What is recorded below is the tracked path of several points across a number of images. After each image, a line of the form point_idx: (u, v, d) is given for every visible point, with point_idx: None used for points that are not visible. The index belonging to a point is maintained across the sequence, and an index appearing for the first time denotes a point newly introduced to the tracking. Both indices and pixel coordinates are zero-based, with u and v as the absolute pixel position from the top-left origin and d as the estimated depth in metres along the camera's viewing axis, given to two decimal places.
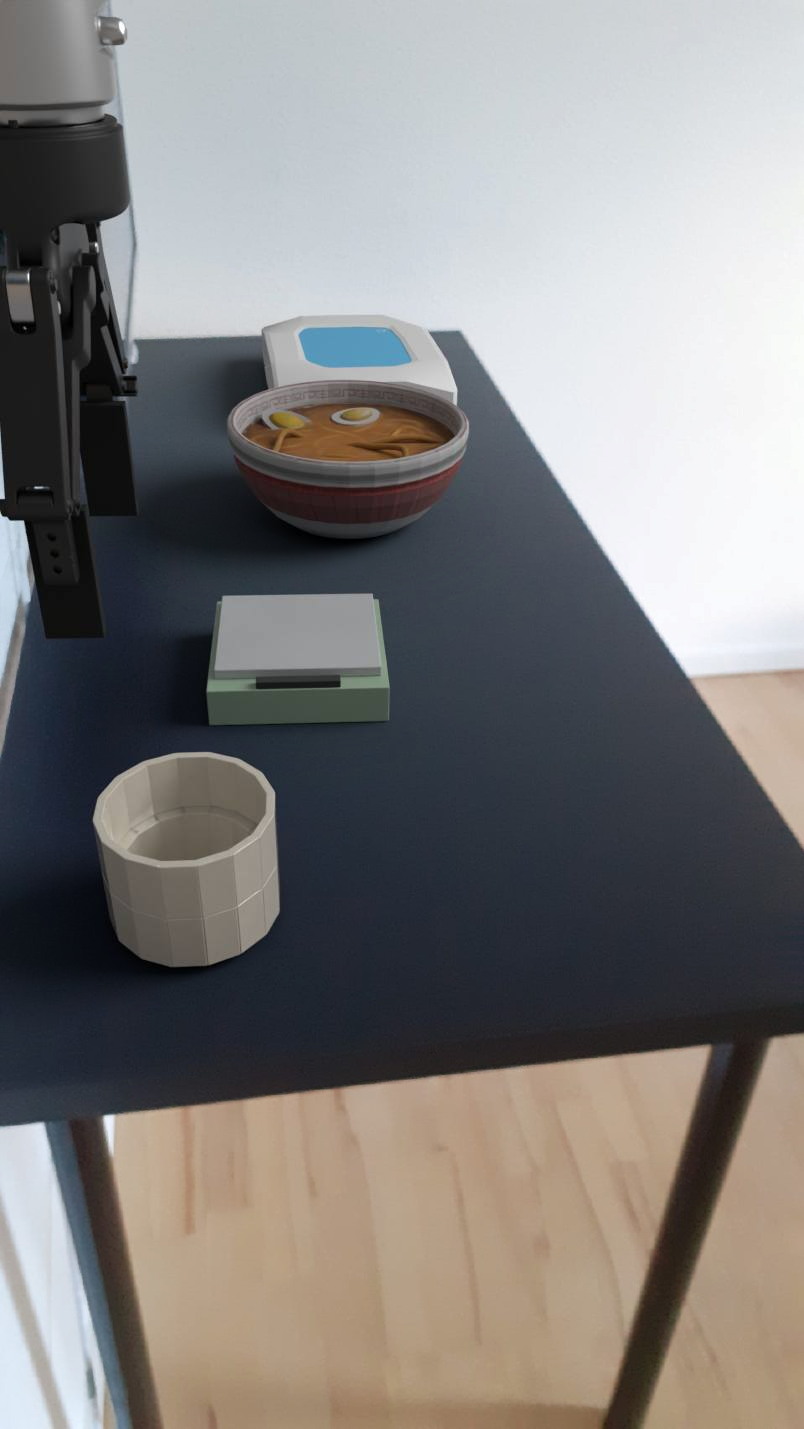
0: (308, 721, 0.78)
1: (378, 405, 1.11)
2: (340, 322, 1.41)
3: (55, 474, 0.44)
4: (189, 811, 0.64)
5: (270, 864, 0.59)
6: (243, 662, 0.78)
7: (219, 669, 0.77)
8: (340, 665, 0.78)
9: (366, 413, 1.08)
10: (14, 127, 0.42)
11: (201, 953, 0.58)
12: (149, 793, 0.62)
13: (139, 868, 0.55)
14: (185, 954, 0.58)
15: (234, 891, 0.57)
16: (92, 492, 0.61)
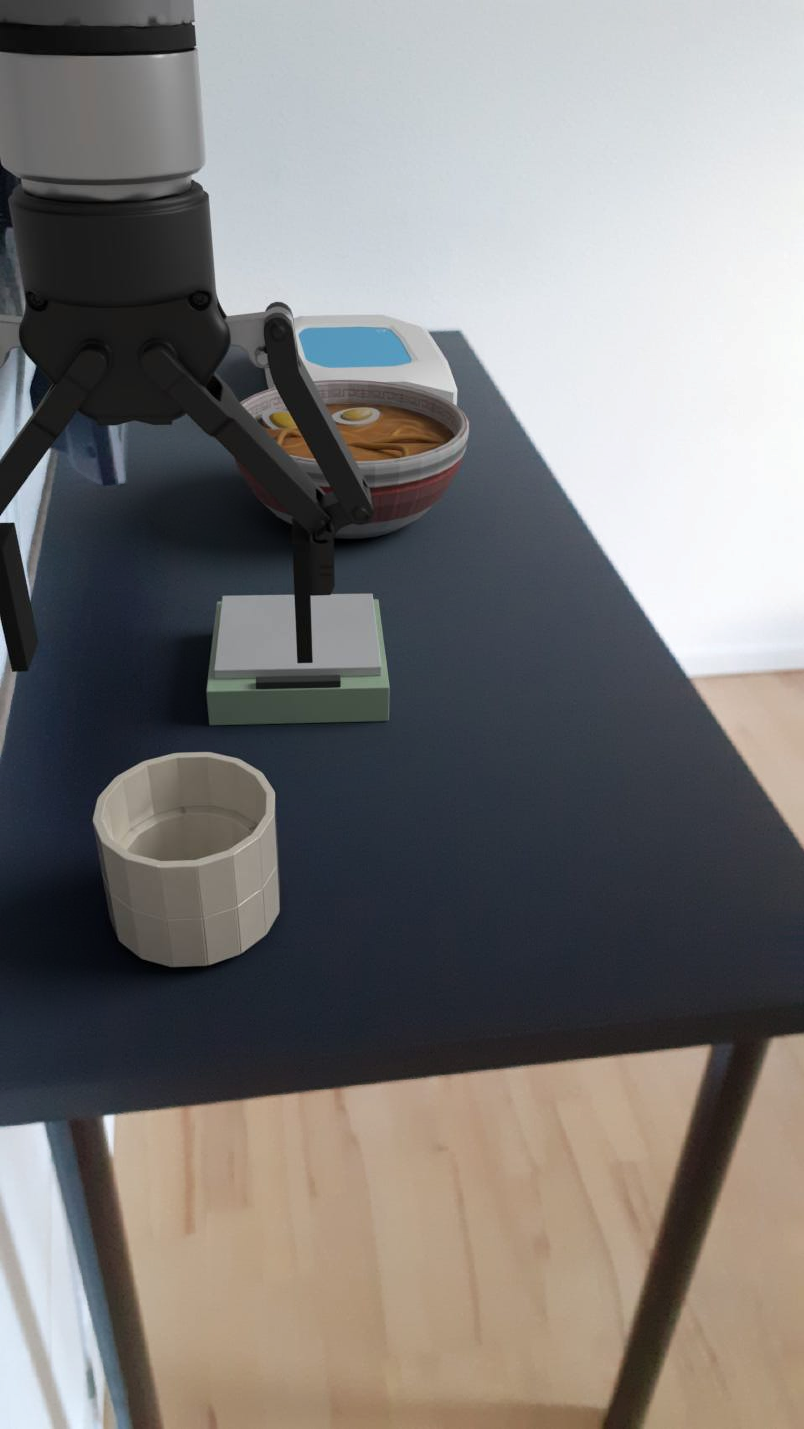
0: (308, 721, 0.78)
1: (378, 405, 1.11)
2: (340, 322, 1.41)
3: (357, 466, 0.50)
4: (189, 811, 0.64)
5: (270, 864, 0.59)
6: (243, 662, 0.78)
7: (219, 669, 0.77)
8: (340, 665, 0.78)
9: (366, 413, 1.08)
10: (194, 187, 0.42)
11: (201, 953, 0.58)
12: (149, 793, 0.62)
13: (139, 868, 0.55)
14: (185, 954, 0.58)
15: (234, 891, 0.57)
16: (24, 640, 0.51)
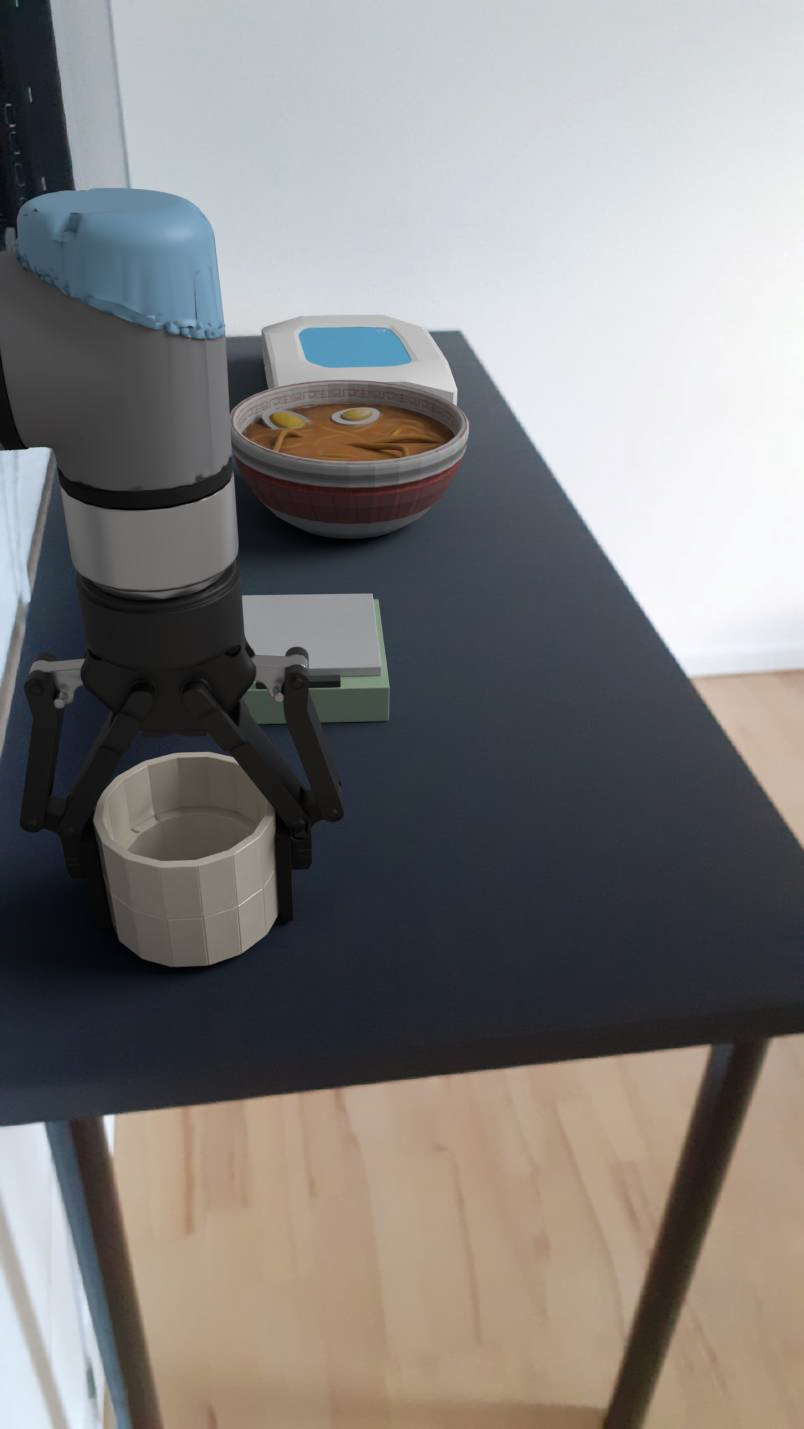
0: None
1: (378, 405, 1.11)
2: (340, 322, 1.41)
3: (336, 769, 0.59)
4: (190, 811, 0.64)
5: (271, 864, 0.59)
6: None
7: None
8: (340, 665, 0.78)
9: (366, 413, 1.08)
10: (228, 565, 0.50)
11: (202, 953, 0.58)
12: (149, 793, 0.62)
13: (139, 868, 0.55)
14: (186, 954, 0.58)
15: (234, 891, 0.57)
16: (107, 904, 0.61)
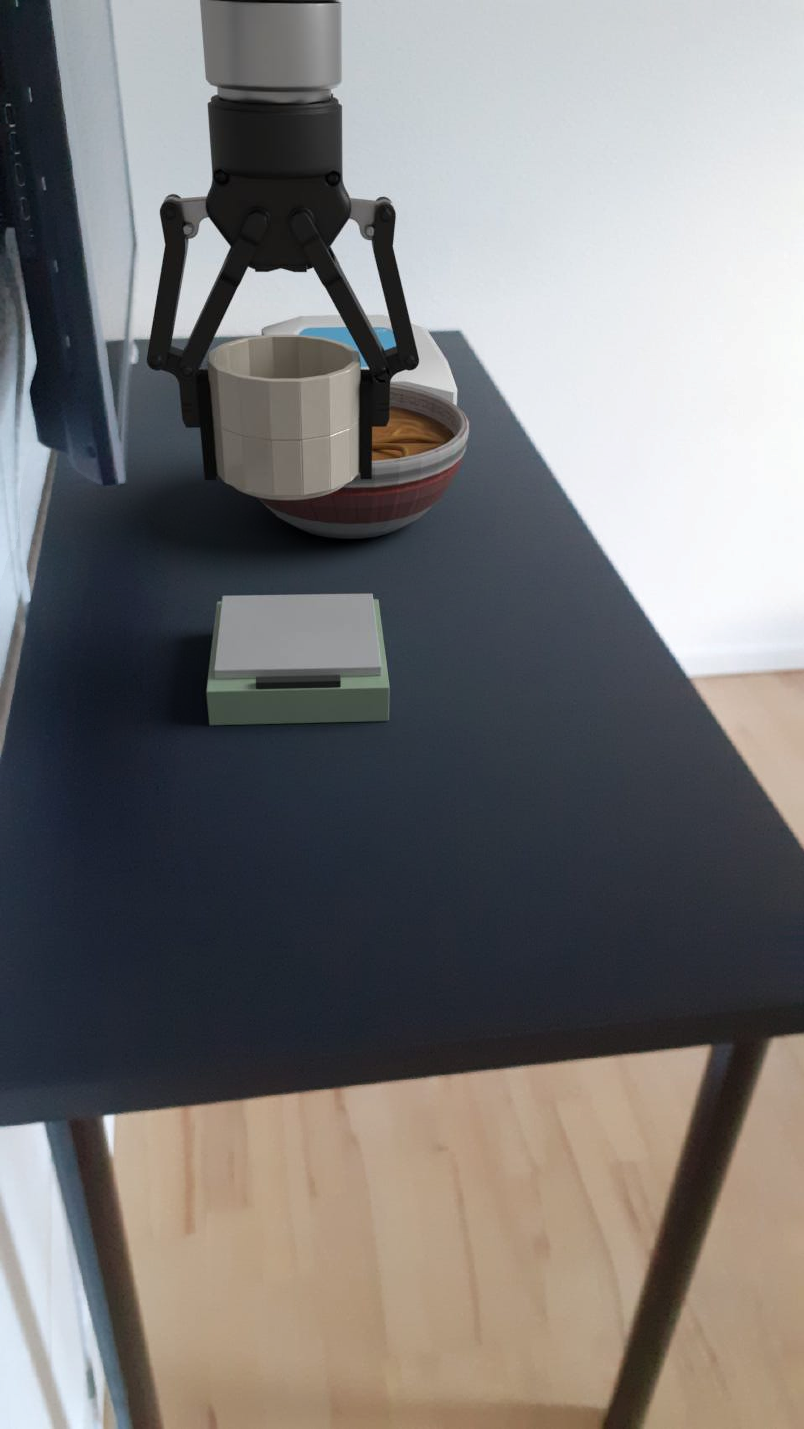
0: (308, 721, 0.78)
1: None
2: (340, 322, 1.41)
3: None
4: None
5: (356, 411, 0.69)
6: (243, 662, 0.78)
7: (219, 669, 0.77)
8: (340, 665, 0.78)
9: None
10: (332, 99, 0.61)
11: (298, 481, 0.68)
12: (248, 369, 0.72)
13: (250, 385, 0.65)
14: (284, 481, 0.68)
15: (328, 418, 0.67)
16: (214, 456, 0.71)
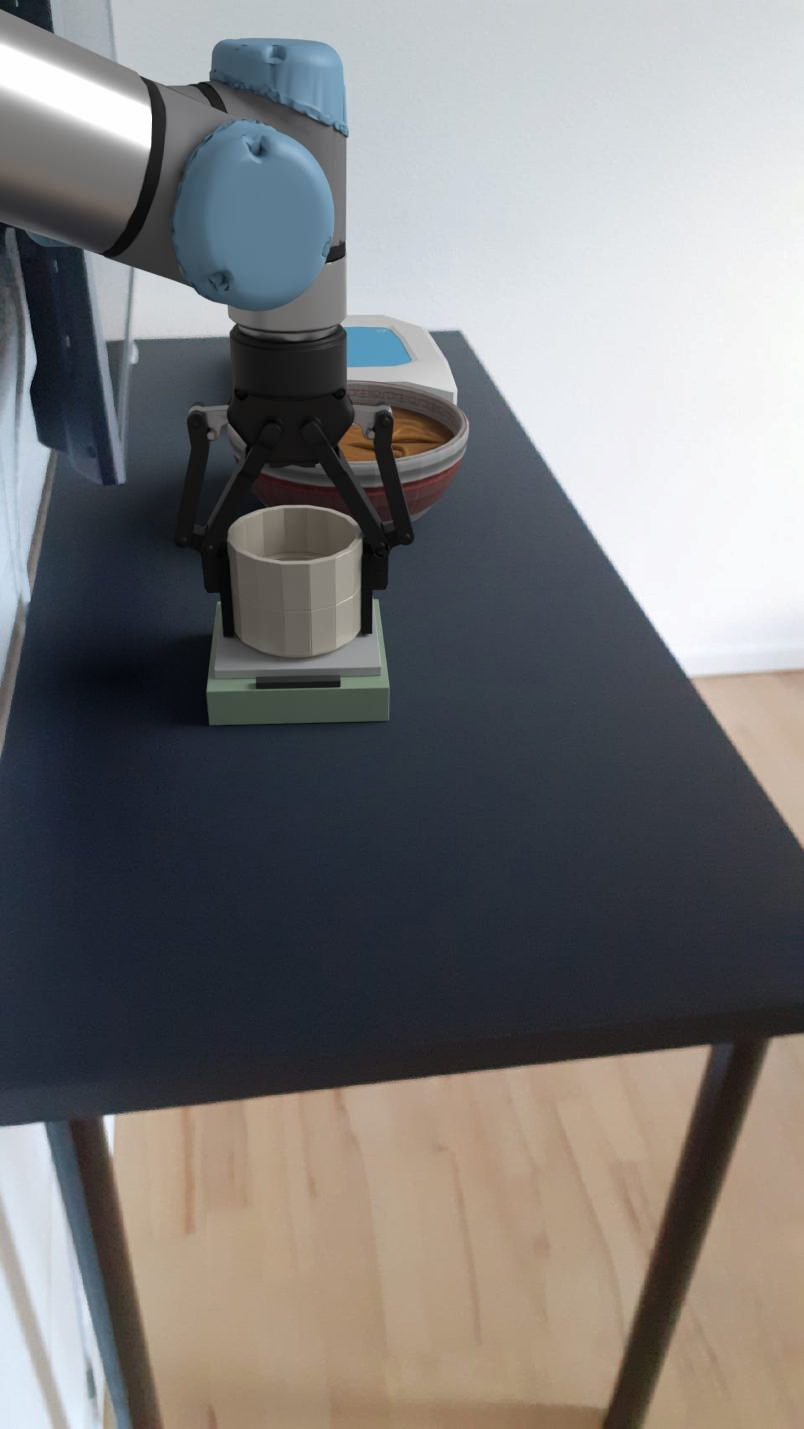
0: (308, 721, 0.78)
1: None
2: None
3: (407, 508, 0.78)
4: (291, 554, 0.83)
5: (358, 580, 0.78)
6: (243, 662, 0.78)
7: (219, 669, 0.77)
8: (340, 665, 0.78)
9: None
10: (338, 327, 0.69)
11: (307, 644, 0.77)
12: (262, 536, 0.81)
13: (266, 566, 0.74)
14: (295, 644, 0.77)
15: (334, 591, 0.76)
16: (232, 616, 0.80)
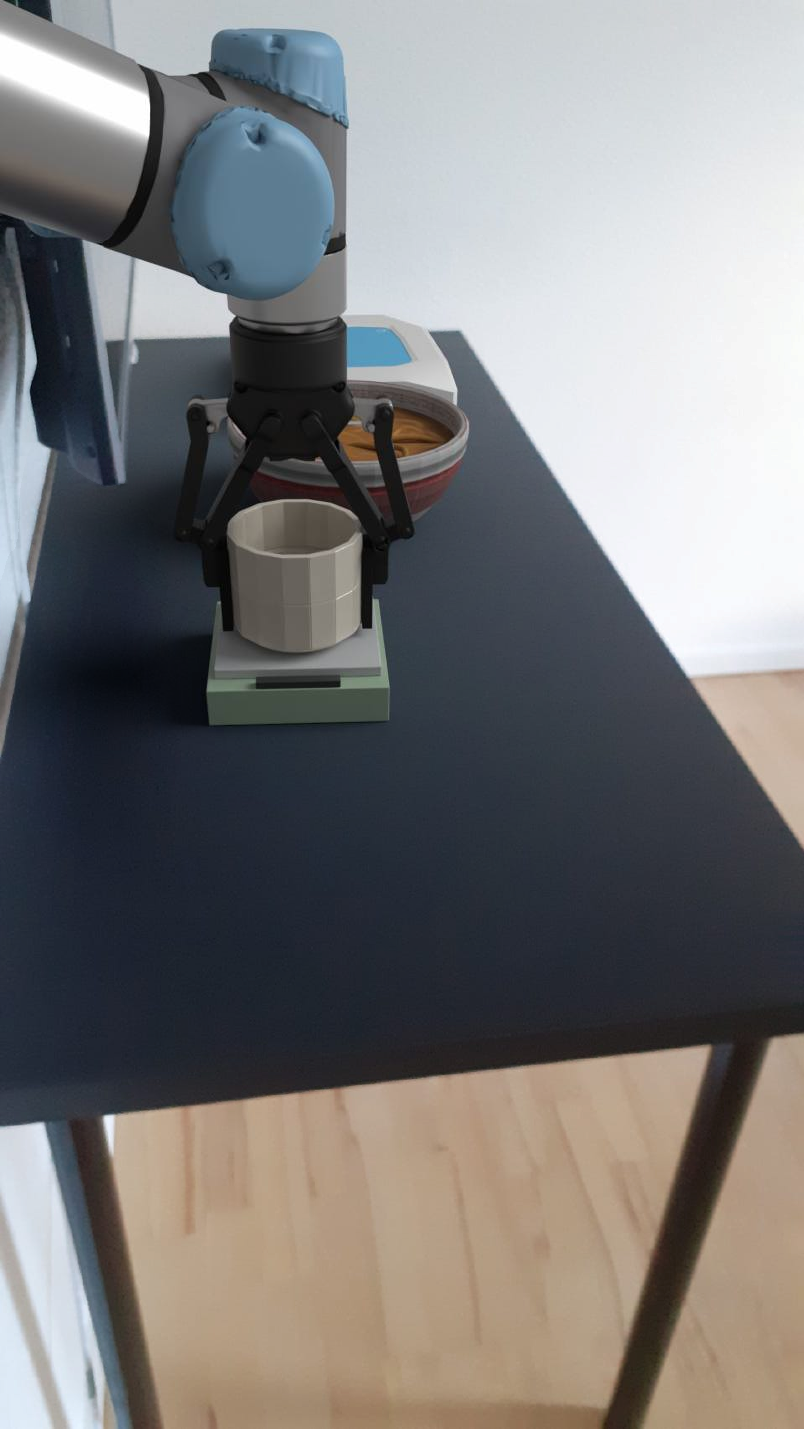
0: (308, 721, 0.78)
1: None
2: None
3: None
4: (291, 549, 0.82)
5: (358, 574, 0.78)
6: (243, 662, 0.78)
7: (219, 669, 0.77)
8: (340, 665, 0.78)
9: None
10: (338, 320, 0.69)
11: (307, 638, 0.77)
12: (262, 530, 0.81)
13: (265, 560, 0.74)
14: (295, 638, 0.77)
15: (334, 585, 0.76)
16: None
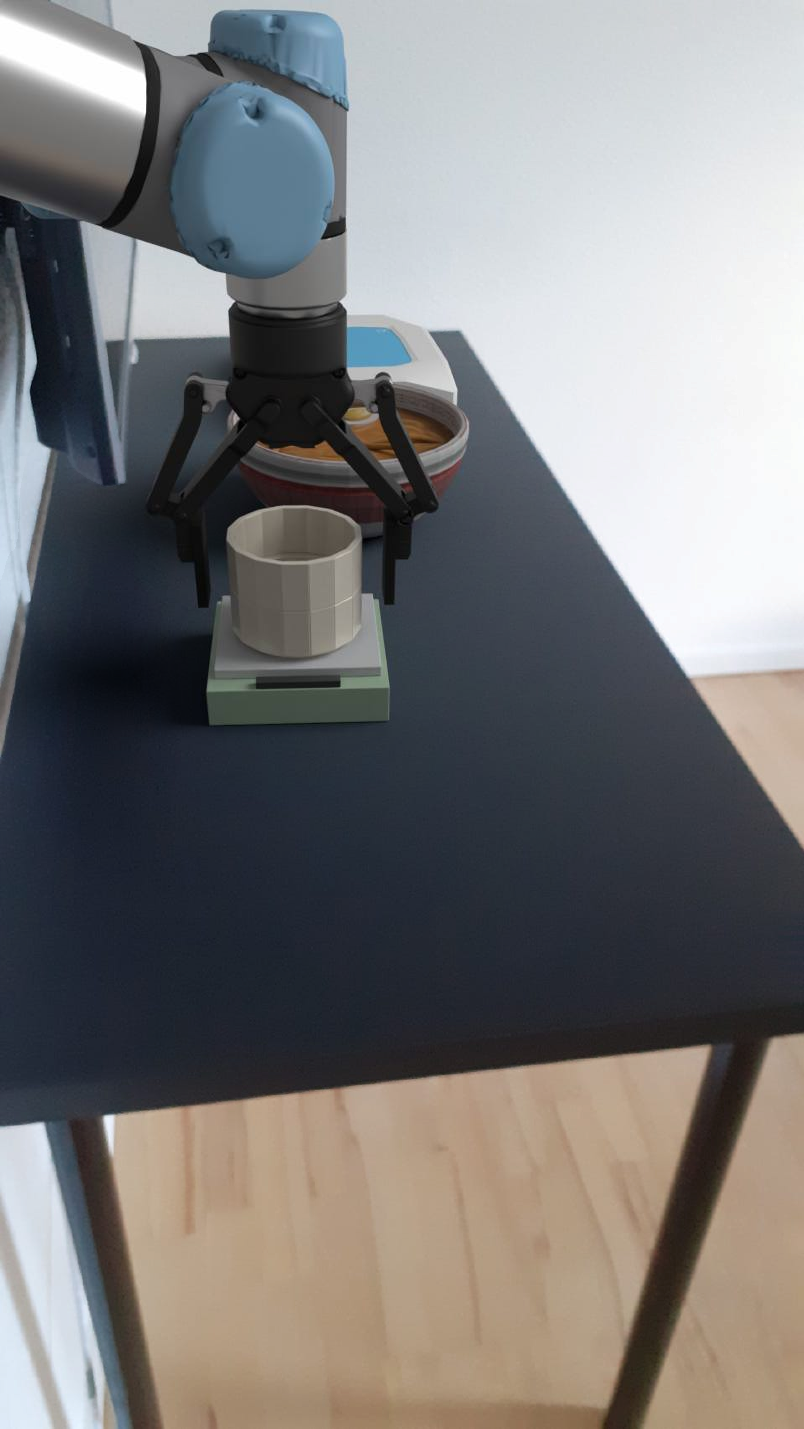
0: (308, 721, 0.78)
1: None
2: None
3: (427, 475, 0.77)
4: (290, 554, 0.83)
5: (357, 580, 0.78)
6: (243, 662, 0.78)
7: (219, 669, 0.77)
8: (340, 665, 0.78)
9: (366, 413, 1.08)
10: (338, 305, 0.69)
11: (306, 644, 0.77)
12: (261, 536, 0.81)
13: (265, 567, 0.74)
14: (294, 644, 0.77)
15: (333, 591, 0.76)
16: (207, 587, 0.78)
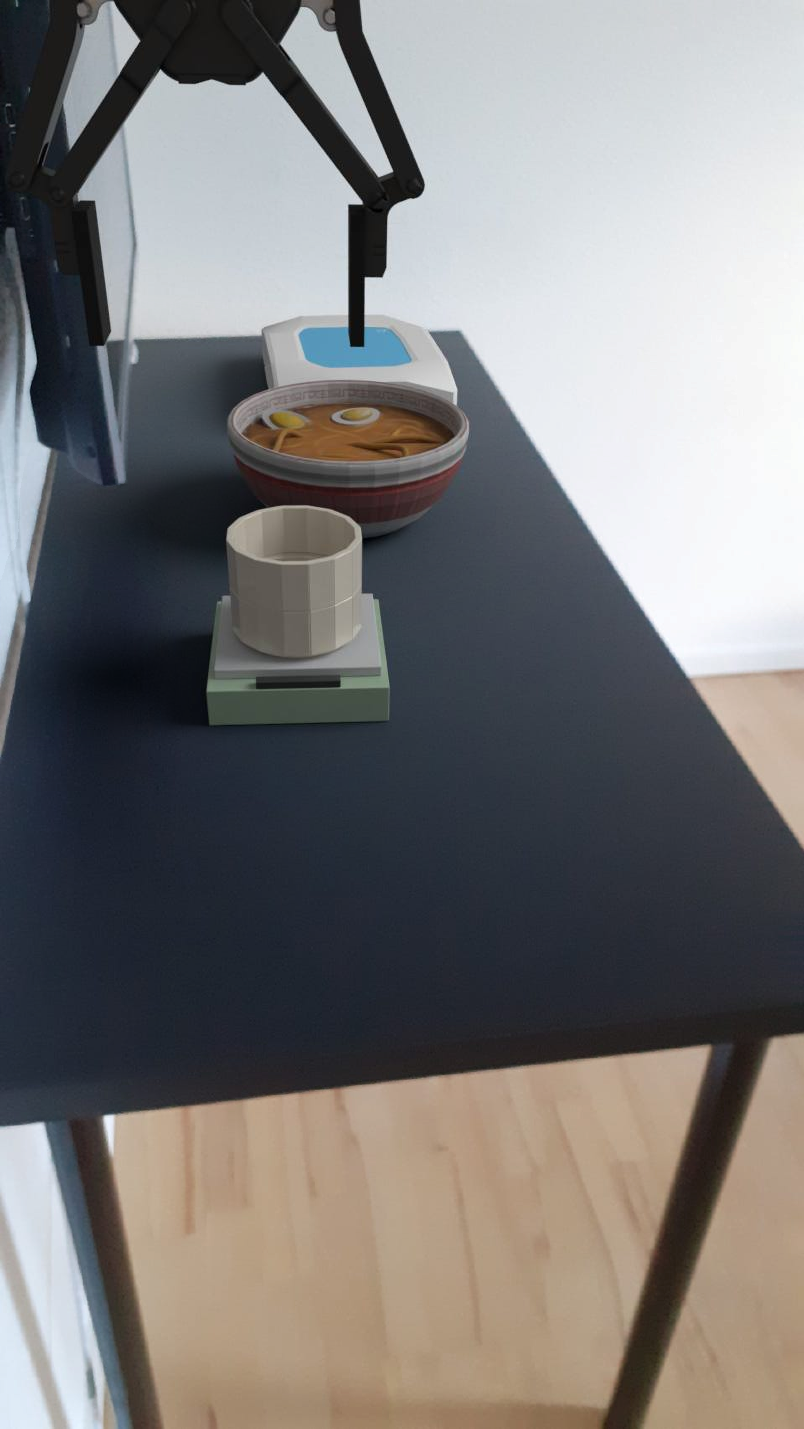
0: (308, 721, 0.78)
1: (378, 405, 1.11)
2: (340, 322, 1.41)
3: None
4: (290, 554, 0.83)
5: (357, 580, 0.78)
6: (243, 662, 0.78)
7: (219, 669, 0.77)
8: (340, 665, 0.78)
9: (366, 413, 1.08)
10: None
11: (306, 644, 0.77)
12: (261, 536, 0.81)
13: (265, 567, 0.74)
14: (294, 644, 0.77)
15: (333, 591, 0.76)
16: (101, 314, 0.56)
